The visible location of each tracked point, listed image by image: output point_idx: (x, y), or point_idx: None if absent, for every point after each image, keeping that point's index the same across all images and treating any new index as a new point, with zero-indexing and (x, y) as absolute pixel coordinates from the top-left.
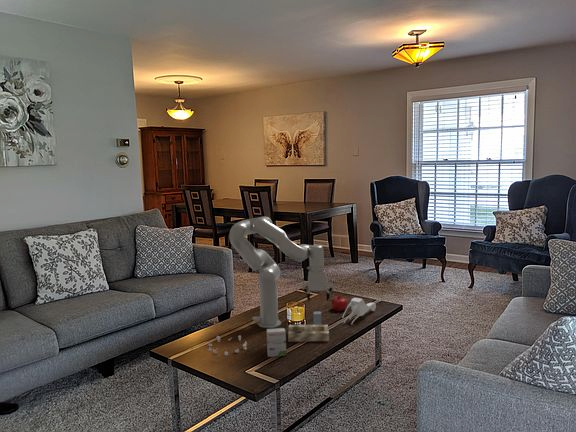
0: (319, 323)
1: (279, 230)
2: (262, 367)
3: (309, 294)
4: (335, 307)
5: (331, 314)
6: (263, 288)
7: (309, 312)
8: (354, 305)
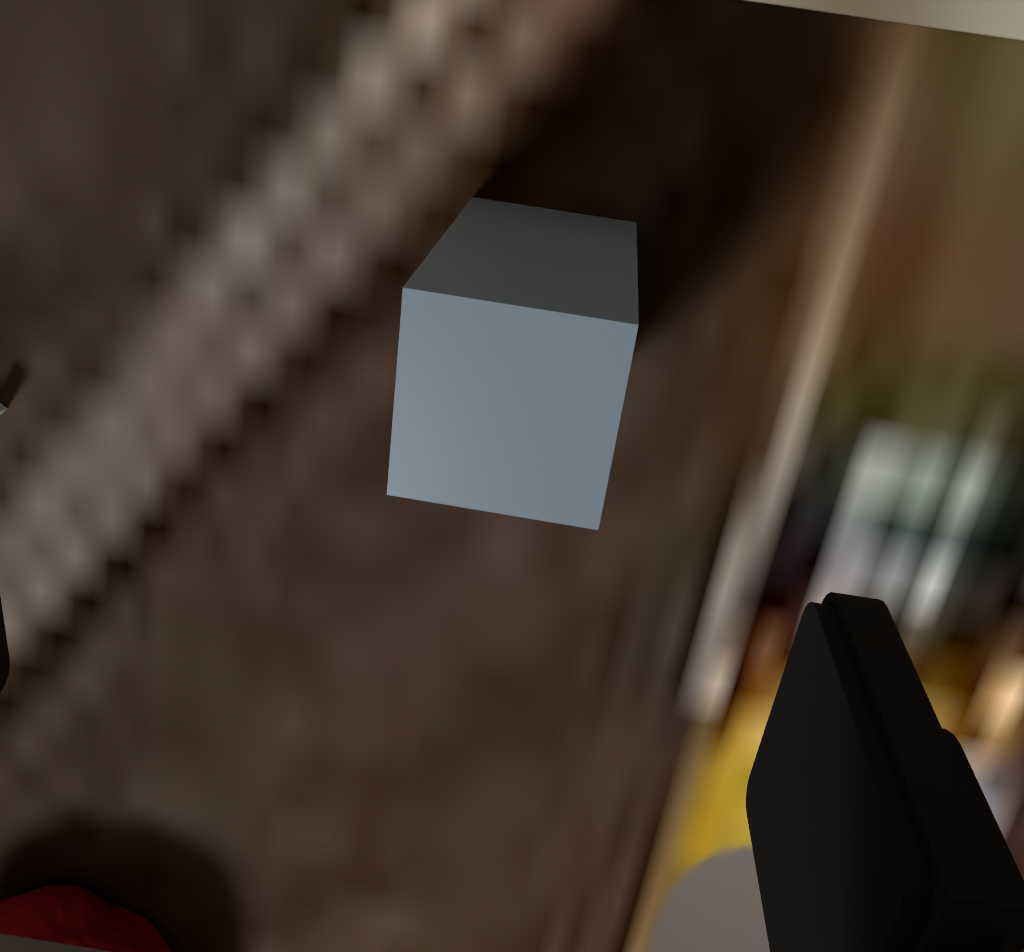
0: (500, 229)
1: None
2: None
3: (915, 889)
4: (115, 949)
5: (215, 809)
6: None
7: (553, 949)
8: None
